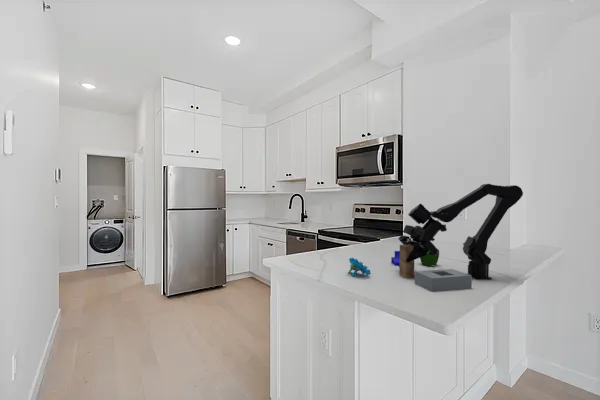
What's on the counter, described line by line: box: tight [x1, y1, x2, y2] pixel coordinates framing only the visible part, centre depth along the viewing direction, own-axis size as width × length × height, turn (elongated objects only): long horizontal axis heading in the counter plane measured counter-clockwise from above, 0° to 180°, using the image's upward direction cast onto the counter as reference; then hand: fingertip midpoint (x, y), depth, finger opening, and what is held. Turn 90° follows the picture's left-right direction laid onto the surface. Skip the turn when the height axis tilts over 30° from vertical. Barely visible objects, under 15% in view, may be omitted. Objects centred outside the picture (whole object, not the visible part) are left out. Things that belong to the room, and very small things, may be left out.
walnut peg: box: [398, 244, 415, 279], centre depth 119 cm, size 4×4×12 cm
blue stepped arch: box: [390, 250, 400, 268], centre depth 137 cm, size 12×4×6 cm, turn 179°
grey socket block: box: [414, 268, 473, 293], centre depth 107 cm, size 16×10×4 cm, turn 104°
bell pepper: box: [419, 249, 440, 267], centre depth 139 cm, size 8×8×10 cm
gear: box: [347, 257, 372, 277], centre depth 120 cm, size 11×6×10 cm
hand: (403, 260), depth 118 cm, fingers closed on walnut peg, 4 cm apart
